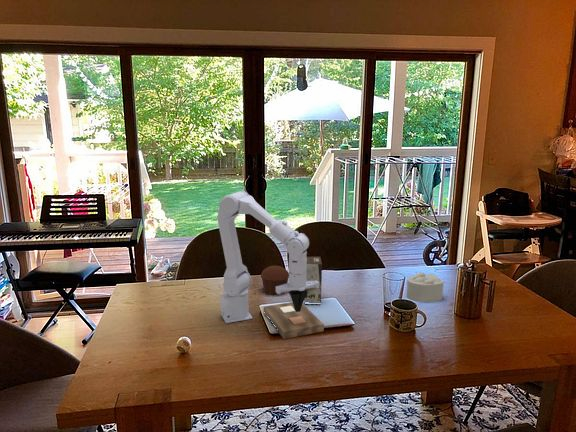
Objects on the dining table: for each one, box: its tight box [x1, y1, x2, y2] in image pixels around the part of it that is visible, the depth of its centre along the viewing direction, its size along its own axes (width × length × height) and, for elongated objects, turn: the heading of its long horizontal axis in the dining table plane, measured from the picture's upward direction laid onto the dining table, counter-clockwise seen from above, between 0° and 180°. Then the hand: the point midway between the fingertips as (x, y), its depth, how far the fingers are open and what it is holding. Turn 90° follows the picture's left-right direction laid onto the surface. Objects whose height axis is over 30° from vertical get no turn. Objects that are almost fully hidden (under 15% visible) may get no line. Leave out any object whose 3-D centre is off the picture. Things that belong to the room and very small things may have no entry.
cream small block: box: [279, 306, 296, 314], centre depth 157 cm, size 4×4×2 cm
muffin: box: [260, 265, 289, 296], centre depth 179 cm, size 12×11×10 cm
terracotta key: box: [289, 316, 306, 325], centre depth 149 cm, size 4×4×2 cm
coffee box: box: [303, 256, 323, 304], centre depth 170 cm, size 9×6×16 cm
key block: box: [263, 301, 325, 340], centre depth 153 cm, size 14×20×2 cm
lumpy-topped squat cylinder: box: [406, 271, 444, 303], centre depth 173 cm, size 10×13×9 cm
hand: (297, 310), depth 148 cm, fingers closed
